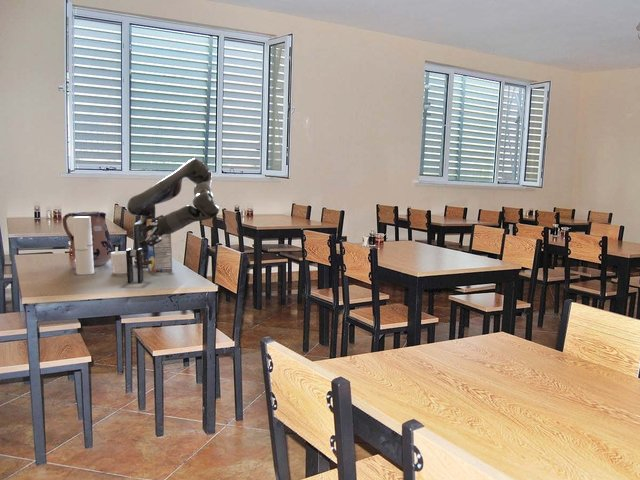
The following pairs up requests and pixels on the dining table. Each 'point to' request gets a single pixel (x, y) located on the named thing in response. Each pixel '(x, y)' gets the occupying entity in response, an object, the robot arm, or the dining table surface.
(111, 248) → the ceramic pitcher
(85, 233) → the cylindrical container
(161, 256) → the juice carton
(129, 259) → the bracket
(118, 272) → the white cup
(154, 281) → the dining table surface
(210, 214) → the robot arm
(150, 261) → the lever
